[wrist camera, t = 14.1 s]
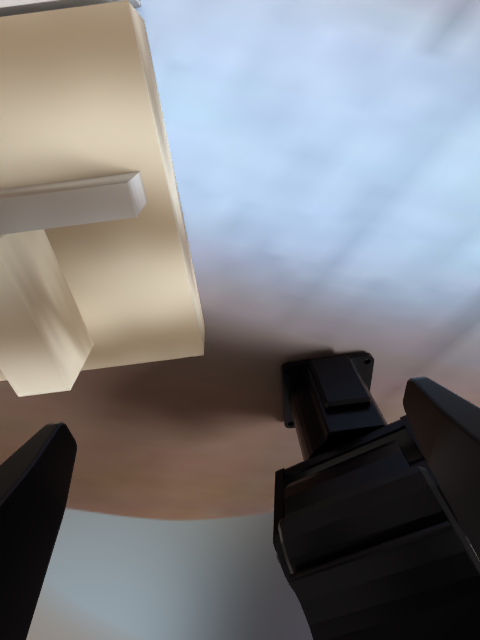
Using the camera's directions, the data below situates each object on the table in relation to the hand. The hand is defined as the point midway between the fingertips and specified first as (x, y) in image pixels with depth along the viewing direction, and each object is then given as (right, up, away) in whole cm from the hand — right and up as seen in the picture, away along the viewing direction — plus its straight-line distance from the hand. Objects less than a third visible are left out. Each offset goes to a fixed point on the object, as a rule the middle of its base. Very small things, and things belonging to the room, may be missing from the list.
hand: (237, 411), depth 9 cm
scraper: (-9, +4, +8) cm, 13 cm away
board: (-10, +7, +9) cm, 15 cm away
